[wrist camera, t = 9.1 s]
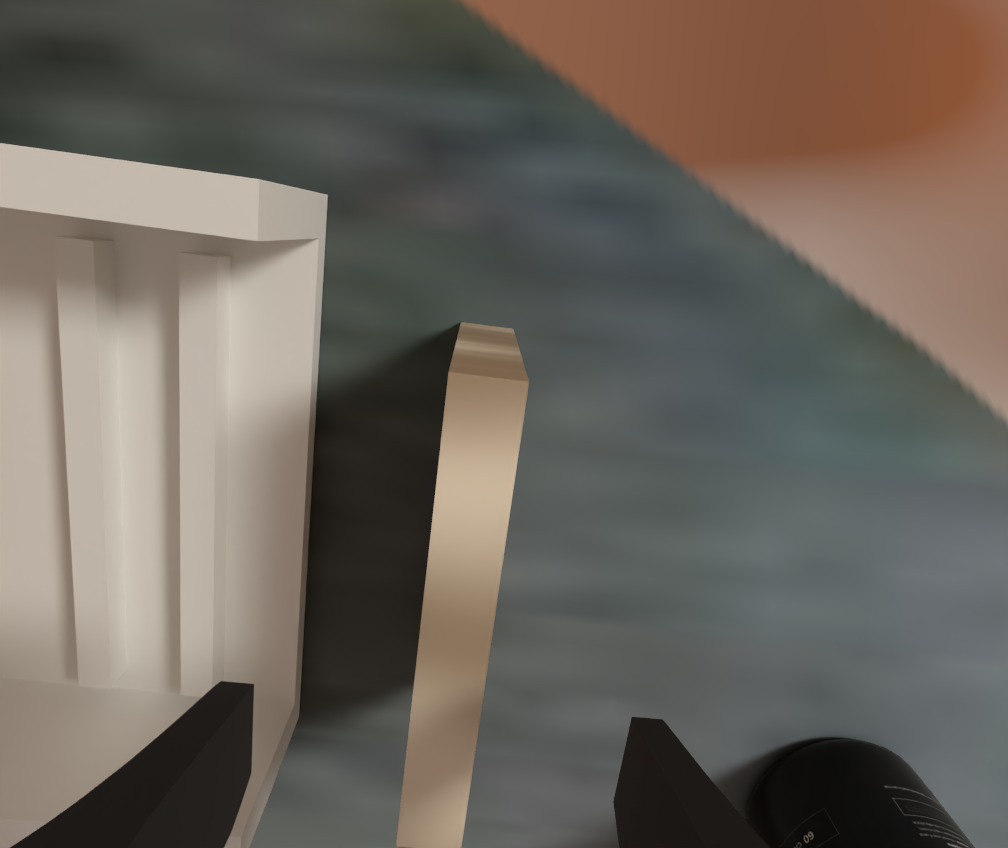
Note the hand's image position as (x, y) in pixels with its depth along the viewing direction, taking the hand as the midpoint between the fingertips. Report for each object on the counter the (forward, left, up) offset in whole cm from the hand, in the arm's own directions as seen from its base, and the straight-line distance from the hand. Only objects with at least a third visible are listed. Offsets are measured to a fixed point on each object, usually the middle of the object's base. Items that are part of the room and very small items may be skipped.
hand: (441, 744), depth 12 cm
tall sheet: (+1, 0, -10) cm, 10 cm away
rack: (-9, +8, -10) cm, 15 cm away
